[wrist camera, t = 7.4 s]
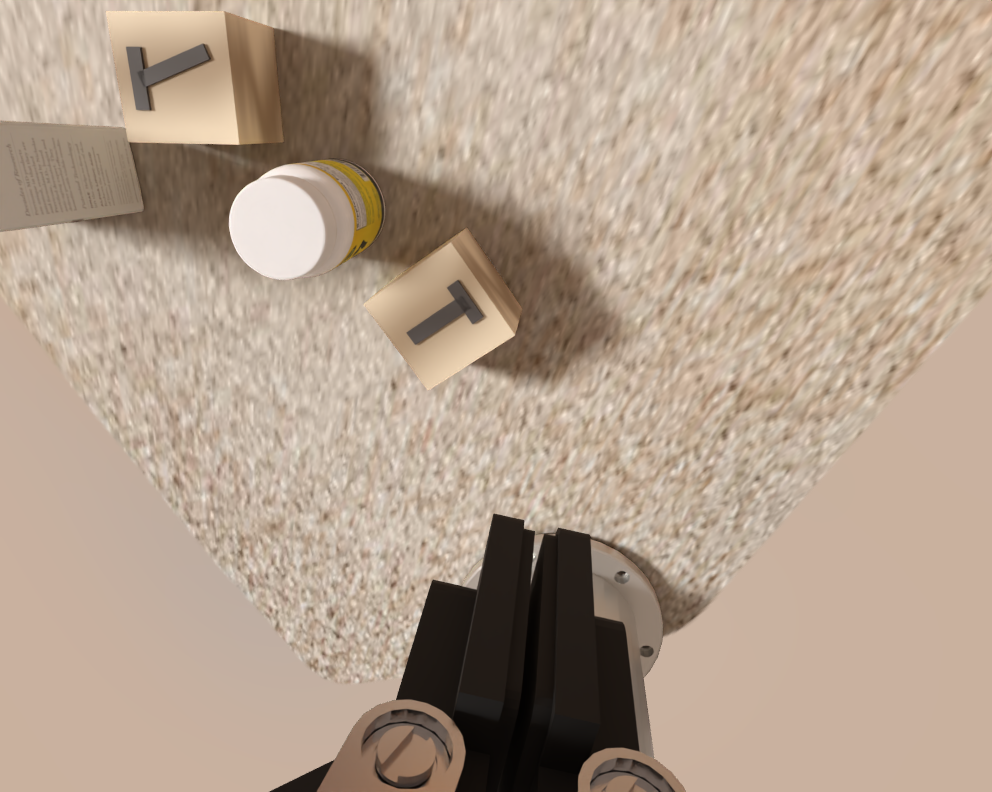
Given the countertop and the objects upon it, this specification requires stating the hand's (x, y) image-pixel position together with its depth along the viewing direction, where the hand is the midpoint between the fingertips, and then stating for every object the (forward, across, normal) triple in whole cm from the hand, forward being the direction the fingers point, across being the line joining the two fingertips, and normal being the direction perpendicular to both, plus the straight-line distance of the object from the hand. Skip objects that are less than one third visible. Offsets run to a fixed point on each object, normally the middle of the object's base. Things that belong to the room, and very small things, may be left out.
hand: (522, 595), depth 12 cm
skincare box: (+25, +25, -1) cm, 35 cm away
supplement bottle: (+25, +11, -2) cm, 28 cm away
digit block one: (+25, +5, +2) cm, 26 cm away
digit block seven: (+25, +17, -6) cm, 31 cm away
